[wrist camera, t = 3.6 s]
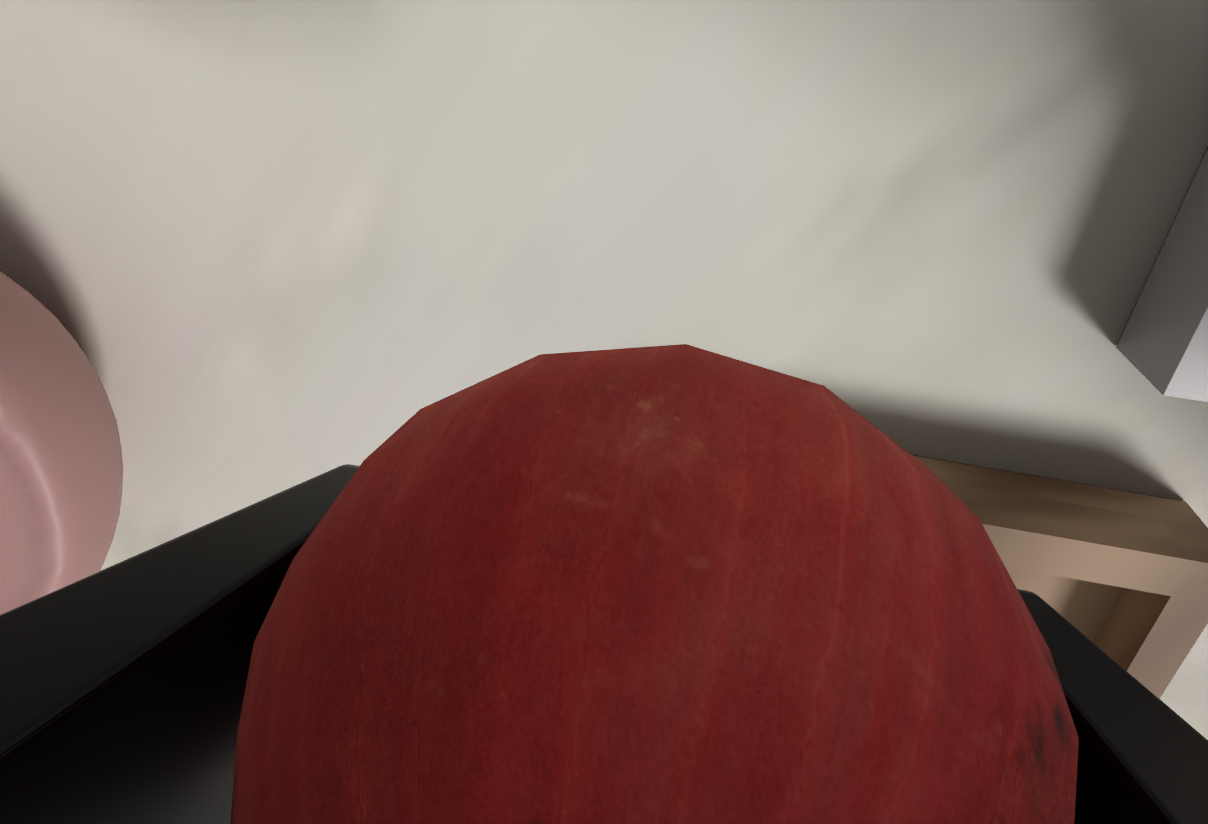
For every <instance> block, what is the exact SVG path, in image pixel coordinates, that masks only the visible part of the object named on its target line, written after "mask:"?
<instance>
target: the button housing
mask: <svg viewBox="0 0 1208 824" xmlns="http://www.w3.org/2000/svg"><path fill="white" fill-rule="evenodd" d="M1116 348H1117V349H1118V350H1119V351H1120V352H1121V353H1122V354H1123V355H1124V356H1125V357H1126V358H1127V359H1128V360H1129V361H1130V362H1131V363H1132V364H1133V365H1134V366H1135V367H1136V368H1137V369H1138V370H1139V371H1140V372H1141V373H1142V374H1143V375H1144V376H1145V377H1146V378H1147V379H1148V380H1149V381H1150V382H1151V383H1152V384H1153V385H1154V386H1155V387H1156V388H1157V389H1158V390H1159V391H1160V392H1161V393H1162V394H1163V395H1166V396H1172V397H1178V398H1185V399H1191V400H1197V401H1203V402H1208V149H1207V151H1206V153H1205V155H1204V157H1203V160H1202V162H1201V164H1200V166H1199V168H1198V170H1197V173H1196V175H1195V177H1194V179H1193V181H1192V184H1191V186H1190V188H1189V190H1188V192H1187V194H1186V197H1185V199H1184V201H1183V203H1182V205H1181V207H1180V210H1179V212H1178V214H1177V216H1176V218H1175V221H1174V223H1173V225H1172V227H1171V229H1170V231H1169V234H1168V236H1167V238H1166V240H1165V242H1164V245H1163V247H1162V249H1161V251H1160V253H1159V255H1158V258H1157V260H1156V262H1155V264H1154V266H1153V268H1152V271H1151V273H1150V275H1149V277H1148V279H1147V282H1146V284H1145V286H1144V288H1143V290H1142V292H1141V295H1140V297H1139V299H1138V301H1137V303H1136V306H1135V308H1134V310H1133V312H1132V314H1131V316H1130V319H1129V321H1128V323H1127V325H1126V327H1125V329H1124V332H1123V334H1122V336H1121V338H1120V340H1119V343H1118V345H1117V347H1116Z"/></svg>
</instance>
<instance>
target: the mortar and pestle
mask: <svg viewBox="0 0 1208 824" xmlns="http://www.w3.org/2000/svg"><path fill="white" fill-rule="evenodd" d="M122 482H123V461H122V452H121V443H120V438H119V432H118V427H117V421H116V419H115V416H114V413H113V410H112V407H111V404H110V402H109V399H108V396H107V394H106V391H105V389H104V387H103V385H102V383H101V381H100V378H99V376H98V374H97V372H96V370H95V368H94V367H93V365H92V364H91V362H90V361H89V359H88V358H87V356H86V355H85V354H84V352H83V351H82V349H81V348H80V346H79V345H78V343H77V342H76V341H75V339H74V338H73V337H72V336H71V335H70V333H69V332H68V331H67V330H66V329H65V327H64V326H63V325H62V324H61V322H60V321H59V320H58V319H57V318H56V317H55V316H54V315H53V314H52V313H51V312H50V311H49V310H48V309H47V308H46V307H44V306H43V305H42V304H41V303H40V302H39V301H38V300H37V299H36V298H35V297H33V296H32V295H31V294H30V293H29V292H28V291H26V290H25V289H24V288H22V287H21V286H20V285H18V284H17V283H16V282H14V281H13V280H12V279H10V278H9V277H8V276H6V275H5V274H4V273H2V272H1V271H0V615H1V614H3V613H6V612H8V611H10V610H13V609H15V608H17V607H19V606H22V605H24V604H26V603H29V602H31V601H33V600H35V599H38V598H40V597H42V596H45V595H47V594H49V593H51V592H54V591H56V590H58V589H61V588H63V587H65V586H67V585H70V584H72V583H74V582H77V581H79V580H81V579H83V578H86V577H88V576H90V575H93V574H95V573H97V572H100V570H101V567H102V565H103V563H104V561H105V558H106V556H107V553H108V550H109V548H110V545H111V543H112V540H113V537H114V533H115V529H116V525H117V521H118V517H119V513H120V505H121V496H122Z"/></svg>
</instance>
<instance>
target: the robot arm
mask: <svg viewBox="0 0 1208 824" xmlns="http://www.w3.org/2000/svg"><path fill="white" fill-rule="evenodd" d="M359 467H360V466H356V465H350V464H347V465H342V466H340V467H337V468H335V469H333V470H330V471H328V472H326V473H323V474H321V475H319V476H317V477H314V478H312V479H310V480H307V481H305V482H303V483H301V484H298V485H296V486H294V487H291V488H289V489H287V490H285V491H282V492H280V493H278V494H275V495H273V496H271V497H269V498H266V499H264V500H262V501H259V502H257V503H255V504H253V505H250V506H248V507H246V508H244V509H241V510H239V511H237V512H234V513H232V514H230V515H228V516H225V517H223V518H221V519H218V520H216V521H214V522H212V523H209V524H207V525H205V526H202V527H200V528H198V529H196V530H193V531H191V532H189V533H186V534H184V535H182V536H180V537H177V538H175V539H173V540H170V541H168V542H166V543H164V544H161V545H159V546H157V547H154V548H152V549H150V550H148V551H145V552H143V553H141V554H138V555H136V556H134V557H132V558H129V559H127V560H125V561H122V562H120V563H118V564H116V565H113V566H111V567H109V568H106V569H104V570H102V571H100V572H97V573H95V574H93V575H90V576H88V577H86V578H83V579H81V580H79V581H77V582H74V583H72V584H70V585H67V586H65V587H63V588H61V589H58V590H56V591H54V592H51V593H49V594H47V595H45V596H42V597H40V598H38V599H35V600H33V601H31V602H29V603H26V604H24V605H22V606H19V607H17V608H15V609H13V610H10V611H8V612H6V613H3V614H1V615H0V824H230V820H231V807H232V794H233V781H234V768H235V755H236V743H237V732H238V726H239V721H240V715H241V710H242V704H243V699H244V694H245V688H246V683H247V677H248V672H249V666H250V661H251V656H252V650H253V645H254V641H255V639H256V637H257V635H258V633H259V631H260V628H261V626H262V624H263V622H264V620H265V618H266V616H267V614H268V611H269V609H270V607H271V605H272V603H273V601H274V599H275V596H276V594H277V592H278V590H279V588H280V586H281V584H282V582H283V579H284V577H285V575H286V573H287V571H288V569H289V567H290V565H291V562H292V560H293V558H294V557H295V556H296V554H297V553H298V551H299V550H300V549H301V547H302V546H303V545H304V543H305V542H306V540H307V539H308V538H309V536H310V535H311V533H312V532H313V531H314V529H315V528H316V526H317V525H318V524H319V522H320V521H321V520H322V518H323V517H324V515H325V514H326V513H327V511H328V510H329V508H330V507H331V506H332V504H333V503H334V501H335V500H336V499H337V497H338V496H339V495H340V493H341V492H342V490H343V489H344V488H345V486H346V485H347V483H348V482H349V481H350V479H351V478H352V476H353V475H354V474H355V472H356V471H357V470H358V468H359ZM1017 590H1018V592H1019V593H1020V595H1021V597H1022V599H1023V601H1024V603H1025V605H1026V606H1027V608H1028V610H1029V612H1030V614H1031V616H1032V618H1033V619H1034V621H1035V623H1036V625H1037V627H1038V629H1039V631H1040V632H1041V634H1042V636H1043V638H1044V640H1045V642H1046V644H1047V645H1048V647H1049V649H1050V652H1051V655H1052V658H1053V661H1054V664H1055V667H1056V670H1057V674H1058V677H1059V680H1060V683H1061V686H1062V689H1063V692H1064V695H1065V698H1066V701H1067V704H1068V707H1069V710H1070V713H1071V716H1072V720H1073V723H1074V726H1075V729H1076V732H1077V735H1078V738H1079V746H1078V764H1077V783H1076V801H1075V819H1074V824H1208V740H1207V739H1206V738H1204V737H1203V736H1202V735H1201V734H1200V733H1199V732H1197V731H1196V730H1195V729H1194V728H1193V727H1192V726H1190V725H1189V724H1188V723H1187V722H1186V721H1185V720H1183V719H1182V718H1181V717H1180V716H1179V715H1177V714H1176V713H1175V712H1174V711H1173V710H1172V709H1170V708H1169V707H1168V706H1167V705H1166V704H1165V703H1163V702H1162V701H1161V700H1160V699H1159V698H1158V697H1156V696H1155V695H1154V694H1153V693H1152V692H1151V691H1149V690H1148V689H1147V688H1146V687H1145V686H1144V685H1142V684H1141V683H1140V682H1139V681H1138V680H1137V679H1135V678H1134V677H1133V676H1132V675H1131V674H1129V673H1128V672H1127V671H1126V670H1125V669H1124V668H1122V667H1121V666H1120V665H1119V664H1118V663H1117V662H1115V661H1114V660H1113V659H1112V658H1111V657H1110V656H1108V655H1107V654H1106V653H1105V652H1104V651H1103V650H1101V649H1100V648H1099V647H1098V646H1097V645H1096V644H1094V643H1093V642H1092V641H1091V640H1090V639H1089V638H1087V637H1086V636H1085V635H1084V634H1083V633H1081V632H1080V631H1079V630H1078V629H1077V628H1076V627H1074V626H1073V625H1072V624H1071V623H1070V622H1069V621H1067V620H1066V619H1065V618H1064V617H1063V616H1062V615H1060V614H1059V613H1058V612H1057V611H1056V610H1055V609H1053V608H1052V607H1051V606H1050V605H1049V604H1048V603H1046V602H1045V601H1044V600H1043V599H1042V598H1041V597H1039V596H1038V595H1037V594H1035V593H1033V592H1031V591H1027V590H1022V589H1017Z"/></svg>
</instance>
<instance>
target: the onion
mask: <svg viewBox="0 0 1208 824" xmlns="http://www.w3.org/2000/svg"><path fill="white" fill-rule="evenodd" d="M1078 746H1079V738H1078V735H1077V732H1076V729H1075V726H1074V723H1073V720H1072V716H1071V713H1070V710H1069V707H1068V704H1067V701H1066V698H1065V695H1064V692H1063V689H1062V686H1061V683H1060V680H1059V677H1058V674H1057V670H1056V667H1055V664H1054V661H1053V658H1052V655H1051V652H1050V649H1049V647H1048V645H1047V644H1046V642H1045V640H1044V638H1043V636H1042V634H1041V632H1040V631H1039V629H1038V627H1037V625H1036V623H1035V621H1034V619H1033V618H1032V616H1031V614H1030V612H1029V610H1028V608H1027V606H1026V605H1025V603H1024V601H1023V599H1022V597H1021V595H1020V593H1019V592H1018V590H1017V588H1016V586H1015V584H1014V582H1013V580H1012V579H1011V577H1010V575H1009V573H1008V571H1007V569H1006V567H1005V566H1004V564H1003V562H1002V560H1001V558H1000V556H999V554H998V553H997V551H996V549H995V547H994V545H993V543H992V541H991V540H990V538H989V536H988V534H987V532H986V530H985V528H984V527H983V525H982V523H981V521H980V519H979V518H978V517H977V516H976V515H975V514H974V513H973V512H972V511H971V510H970V509H969V508H968V507H967V506H966V505H965V504H964V503H963V502H962V501H961V500H960V499H959V498H958V497H957V496H956V495H955V494H954V493H953V492H952V491H951V490H950V489H949V488H948V487H947V486H946V485H945V484H944V483H943V482H942V481H941V480H940V479H939V478H938V477H937V476H936V475H935V474H934V473H933V472H932V471H931V470H930V469H929V468H927V467H926V466H925V465H924V464H922V463H921V462H920V461H918V460H917V459H916V458H915V457H913V456H912V455H911V454H910V453H908V452H907V451H906V450H905V449H903V448H902V447H901V446H899V445H898V444H897V443H896V442H894V441H893V440H892V439H891V438H889V437H888V436H887V435H886V434H884V433H883V432H882V431H880V430H879V429H878V428H877V427H875V426H874V425H873V424H872V423H870V422H869V421H868V420H867V419H865V418H864V417H863V416H861V415H860V414H859V413H858V412H856V411H855V410H854V409H853V408H851V407H850V406H849V405H847V404H846V403H845V402H844V401H842V400H841V399H840V398H839V397H837V396H836V395H835V394H834V393H832V392H831V391H830V390H828V389H827V388H826V387H825V386H822V385H819V384H815V383H812V382H809V381H806V380H802V379H799V378H796V377H792V376H789V375H786V374H782V373H779V372H776V371H772V370H769V369H766V368H762V367H759V366H756V365H753V364H749V363H746V362H743V361H739V360H736V359H733V358H729V357H726V356H723V355H719V354H716V353H713V352H709V351H706V350H703V349H700V348H696V347H693V346H690V345H686V344H684V345H670V346H655V347H641V348H627V349H613V350H599V351H584V352H570V353H556V354H542V355H538V356H536V357H534V358H532V359H530V360H527V361H525V362H523V363H521V364H519V365H516V366H514V367H512V368H510V369H508V370H505V371H503V372H501V373H499V374H497V375H495V376H492V377H490V378H488V379H486V380H484V381H481V382H479V383H477V384H475V385H473V386H470V387H468V388H466V389H464V390H462V391H459V392H457V393H455V394H453V395H451V396H448V397H446V398H444V399H442V400H440V401H437V402H435V403H433V404H431V405H429V406H427V407H424V408H422V409H420V410H419V411H418V412H417V413H416V414H415V415H414V416H413V417H412V418H410V419H409V420H408V421H407V422H406V423H405V424H404V425H403V426H402V427H400V428H399V429H398V430H397V431H396V432H395V433H394V434H393V435H392V436H391V437H389V438H388V439H387V440H386V441H385V442H384V443H383V444H382V445H381V446H379V447H378V448H377V449H376V450H375V451H374V452H373V453H372V454H371V455H370V456H368V457H367V458H366V459H365V460H364V461H363V463H362V464H361V465H360V467H359V468H358V470H357V471H356V472H355V474H354V475H353V476H352V478H351V479H350V481H349V482H348V483H347V485H346V486H345V488H344V489H343V490H342V492H341V493H340V495H339V496H338V497H337V499H336V500H335V501H334V503H333V504H332V506H331V507H330V508H329V510H328V511H327V513H326V514H325V515H324V517H323V518H322V520H321V521H320V522H319V524H318V525H317V526H316V528H315V529H314V531H313V532H312V533H311V535H310V536H309V538H308V539H307V540H306V542H305V543H304V545H303V546H302V547H301V549H300V550H299V551H298V553H297V554H296V556H295V557H294V558H293V560H292V562H291V565H290V567H289V569H288V571H287V573H286V575H285V577H284V579H283V582H282V584H281V586H280V588H279V590H278V592H277V594H276V596H275V599H274V601H273V603H272V605H271V607H270V609H269V611H268V614H267V616H266V618H265V620H264V622H263V624H262V626H261V628H260V631H259V633H258V635H257V637H256V639H255V641H254V645H253V650H252V656H251V661H250V666H249V672H248V677H247V683H246V688H245V694H244V699H243V704H242V710H241V715H240V721H239V726H238V732H237V743H236V755H235V768H234V781H233V794H232V807H231V820H230V824H1074V819H1075V801H1076V783H1077V764H1078Z"/></svg>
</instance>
